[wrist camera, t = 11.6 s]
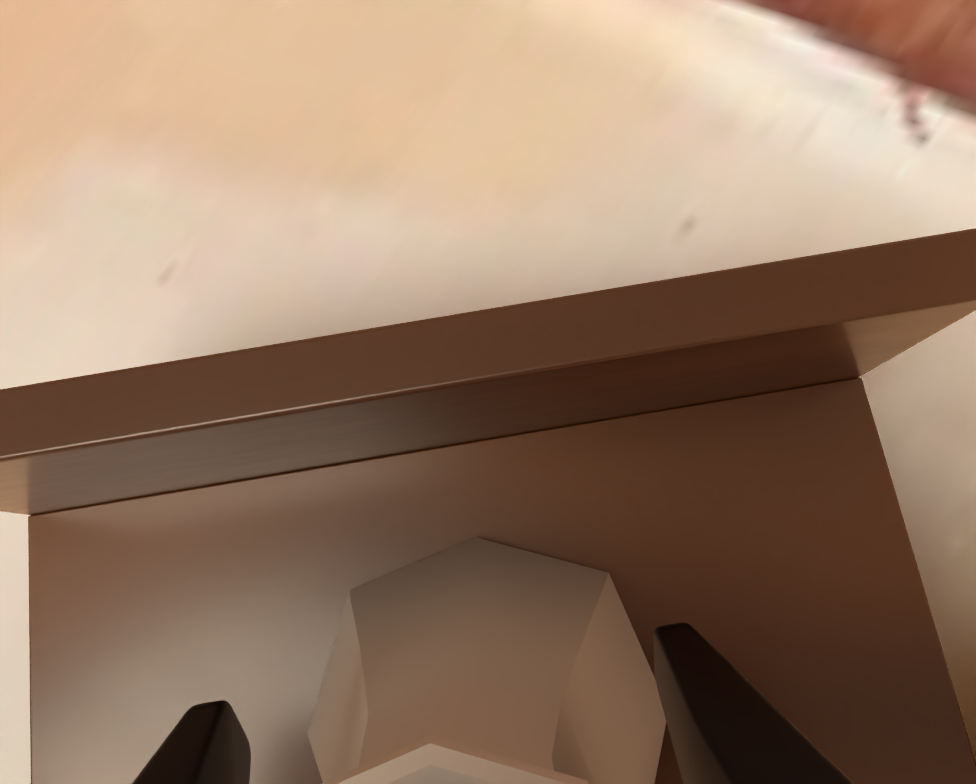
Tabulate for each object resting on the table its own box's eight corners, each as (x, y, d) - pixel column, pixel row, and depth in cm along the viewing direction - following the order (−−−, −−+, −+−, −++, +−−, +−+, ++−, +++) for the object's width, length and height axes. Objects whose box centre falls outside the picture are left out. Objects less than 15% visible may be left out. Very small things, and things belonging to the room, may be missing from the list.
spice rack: (915, 856, 18) (1307, 1131, 9) (138, 989, 18) (-231, 1402, 9) (783, 372, 21) (983, 224, 12) (118, 483, 20) (-174, 416, 12)
